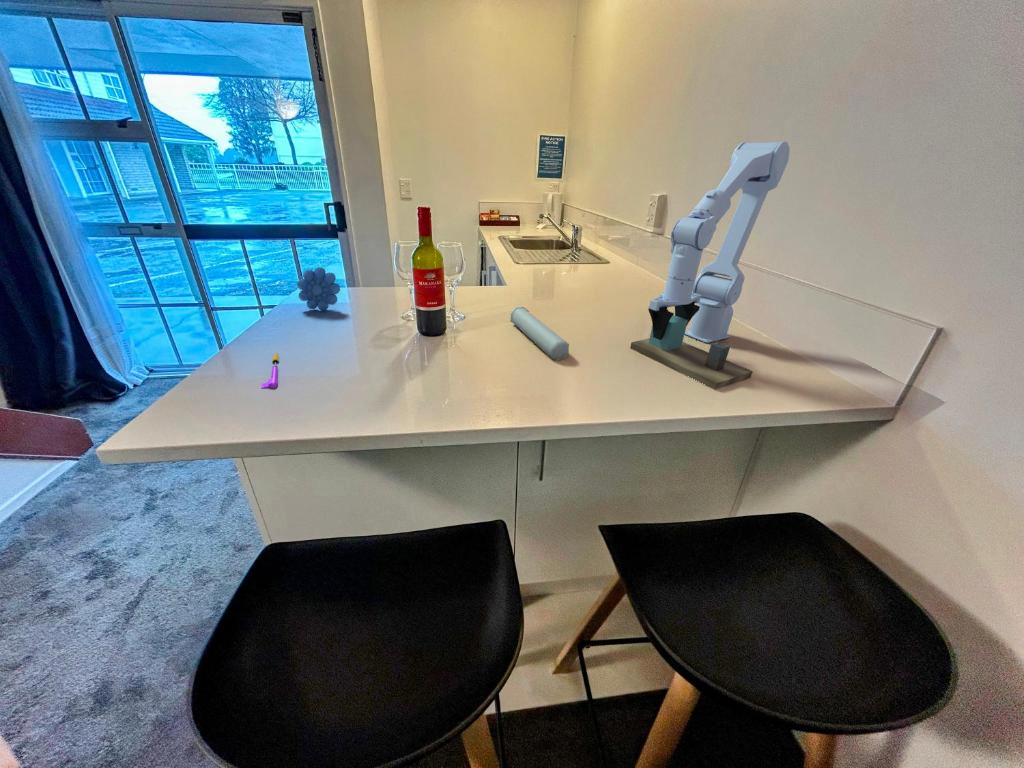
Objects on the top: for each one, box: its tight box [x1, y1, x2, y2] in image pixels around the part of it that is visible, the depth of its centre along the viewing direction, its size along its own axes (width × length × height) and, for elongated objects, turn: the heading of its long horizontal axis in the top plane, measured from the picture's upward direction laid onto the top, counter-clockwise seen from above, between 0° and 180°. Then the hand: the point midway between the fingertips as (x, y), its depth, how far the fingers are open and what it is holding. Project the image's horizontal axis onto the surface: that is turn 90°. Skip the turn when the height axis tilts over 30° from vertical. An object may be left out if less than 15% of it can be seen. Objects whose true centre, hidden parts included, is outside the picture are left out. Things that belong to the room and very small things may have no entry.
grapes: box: [296, 266, 341, 312], centre depth 109 cm, size 12×7×12 cm, turn 90°
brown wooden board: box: [629, 337, 754, 391], centre depth 90 cm, size 12×23×2 cm, turn 30°
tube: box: [510, 306, 570, 361], centre depth 97 cm, size 5×5×25 cm
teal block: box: [648, 314, 688, 351], centre depth 93 cm, size 5×5×7 cm
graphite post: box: [705, 341, 731, 371], centre depth 83 cm, size 3×3×5 cm
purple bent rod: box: [260, 352, 280, 390], centre depth 78 cm, size 3×1×16 cm
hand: (667, 336), depth 93 cm, fingers open, 6 cm apart
